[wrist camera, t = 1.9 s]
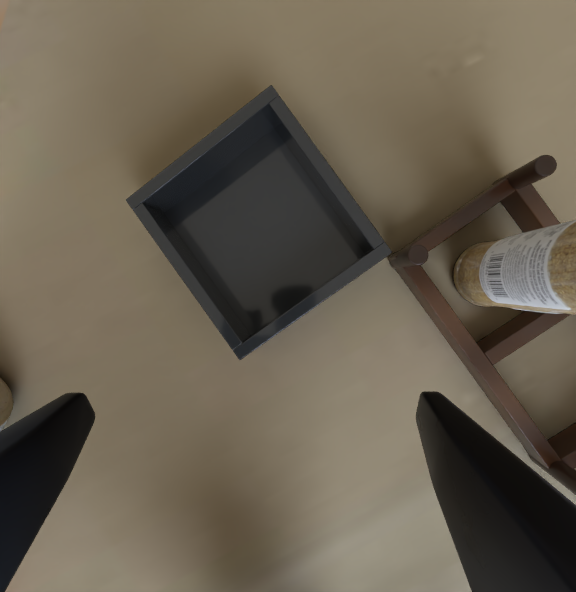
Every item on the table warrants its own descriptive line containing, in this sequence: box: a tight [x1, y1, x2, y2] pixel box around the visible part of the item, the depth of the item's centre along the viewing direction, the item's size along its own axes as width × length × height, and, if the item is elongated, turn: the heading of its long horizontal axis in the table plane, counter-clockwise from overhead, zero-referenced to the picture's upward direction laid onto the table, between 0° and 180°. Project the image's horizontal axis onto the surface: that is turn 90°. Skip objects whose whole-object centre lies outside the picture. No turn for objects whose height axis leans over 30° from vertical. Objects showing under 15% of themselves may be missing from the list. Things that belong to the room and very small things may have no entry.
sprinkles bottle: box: [453, 220, 576, 314], centre depth 14 cm, size 5×5×13 cm
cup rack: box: [389, 155, 576, 495], centre depth 19 cm, size 18×10×4 cm, turn 36°
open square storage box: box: [126, 85, 392, 360], centre depth 20 cm, size 13×12×4 cm
